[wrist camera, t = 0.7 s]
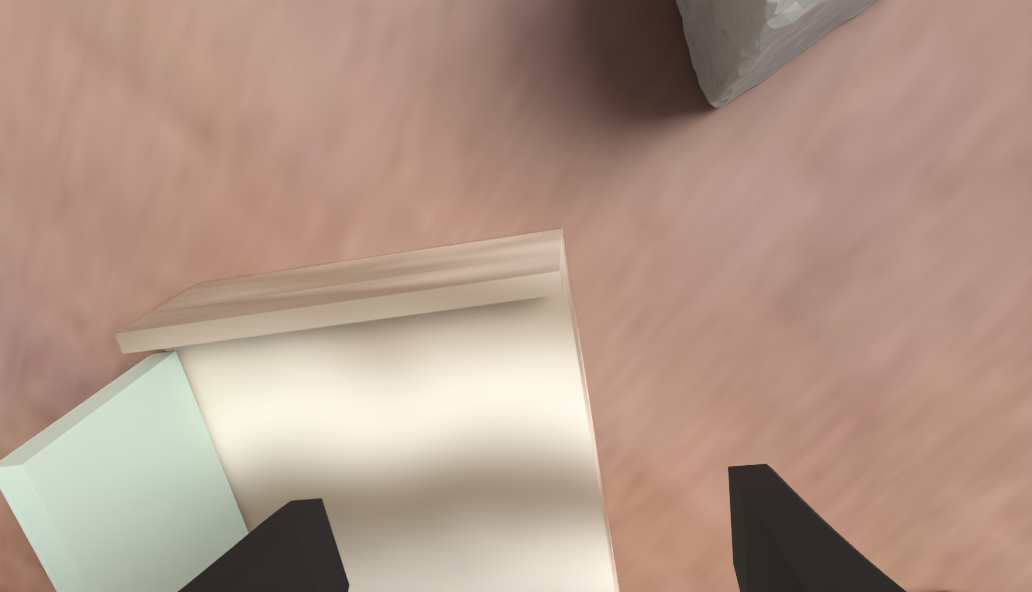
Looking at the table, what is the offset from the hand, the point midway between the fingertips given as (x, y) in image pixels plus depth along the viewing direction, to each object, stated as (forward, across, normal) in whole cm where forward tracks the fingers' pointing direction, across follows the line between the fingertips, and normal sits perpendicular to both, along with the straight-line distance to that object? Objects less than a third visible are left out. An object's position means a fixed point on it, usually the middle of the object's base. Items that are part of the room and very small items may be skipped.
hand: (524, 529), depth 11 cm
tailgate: (+7, +11, +5) cm, 14 cm away
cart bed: (+10, +5, +5) cm, 12 cm away
